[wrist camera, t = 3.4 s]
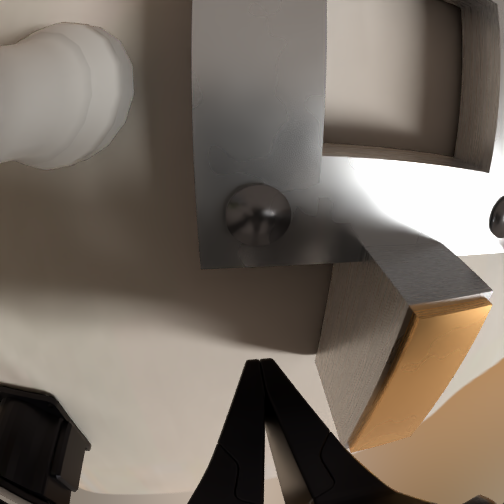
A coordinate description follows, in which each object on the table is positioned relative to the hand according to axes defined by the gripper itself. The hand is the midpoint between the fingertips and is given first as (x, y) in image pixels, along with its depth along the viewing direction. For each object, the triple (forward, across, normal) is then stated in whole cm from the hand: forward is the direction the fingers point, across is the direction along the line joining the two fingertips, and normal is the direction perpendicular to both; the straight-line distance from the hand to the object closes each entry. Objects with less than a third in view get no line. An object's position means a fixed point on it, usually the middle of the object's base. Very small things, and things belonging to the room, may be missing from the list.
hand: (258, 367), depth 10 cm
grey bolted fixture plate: (+3, -4, -6) cm, 8 cm away
